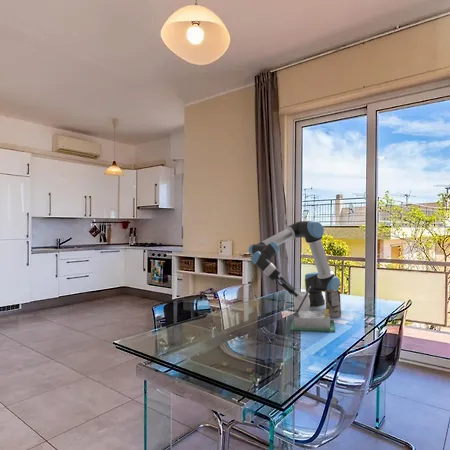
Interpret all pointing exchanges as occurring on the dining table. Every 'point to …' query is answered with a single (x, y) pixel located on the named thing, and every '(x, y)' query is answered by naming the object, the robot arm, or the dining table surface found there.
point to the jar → (305, 304)
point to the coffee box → (333, 302)
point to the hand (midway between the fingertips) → (301, 299)
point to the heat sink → (312, 321)
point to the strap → (303, 299)
